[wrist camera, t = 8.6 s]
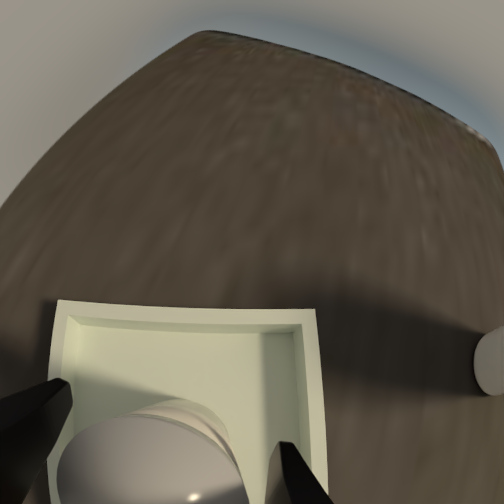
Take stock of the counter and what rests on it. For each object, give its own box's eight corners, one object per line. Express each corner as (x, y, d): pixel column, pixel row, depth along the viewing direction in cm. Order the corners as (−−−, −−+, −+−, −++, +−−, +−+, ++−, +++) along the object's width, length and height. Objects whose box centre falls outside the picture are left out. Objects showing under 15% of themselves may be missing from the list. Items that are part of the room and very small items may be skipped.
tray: (73, 527, 10) (57, 539, 8) (74, 314, 17) (58, 299, 14) (313, 538, 12) (328, 553, 9) (302, 322, 18) (315, 308, 16)
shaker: (160, 496, 12) (116, 584, 4) (119, 415, 13) (28, 439, 5) (246, 466, 13) (282, 545, 5) (205, 385, 15) (195, 389, 7)
